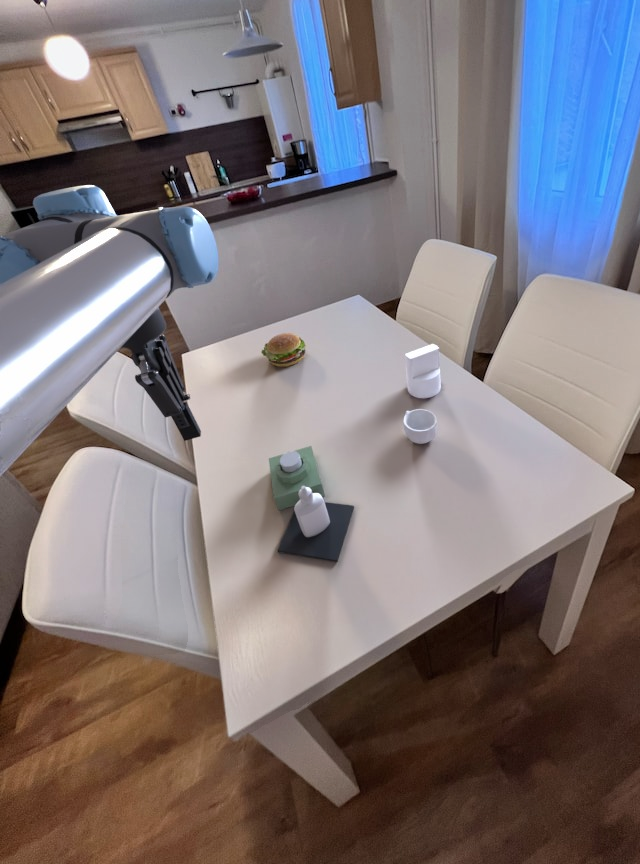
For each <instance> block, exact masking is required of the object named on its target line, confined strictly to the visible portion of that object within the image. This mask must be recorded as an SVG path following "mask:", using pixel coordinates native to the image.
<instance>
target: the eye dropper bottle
mask: <svg viewBox="0 0 640 864" xmlns="http://www.w3.org/2000/svg"><path fill="white" fill-rule="evenodd" d="M298 495H299V498H300V500H299V501H298V502H297V504H296V505H295V506H293V512H294V511H295V514H296V517H297V519H298V522H299V525H300V527H301V530H302V532H303V534H304V535H305V536H306V537H312V536H315V535H317V534H319V533H321V532H322V531H324V530H325V529H326V528H327V527H328V525H329V524H330V519H329V516H328V512H327V509H326V506H325V502H326V501H325V500H324V498H323V497H322V496H321V495H320V494H319V493H312V490H311V489H310V488H309V487H305V486H302V487H301V489H300V491H299V493H298Z"/></svg>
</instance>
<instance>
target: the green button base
mask: <svg viewBox="0 0 640 864" xmlns="http://www.w3.org/2000/svg"><path fill="white" fill-rule="evenodd" d="M293 451H294V452H297V453H299V455H300V457H301V461H302V466H301V468H300V469H299V470H297V471H296V472H293V473H286V472H284V471H283V470H282V467H281V464H280V458H281V457H282V455H284V454H285V453H282V454H278V455H276V456H273V457H269V458H268V464H269V471H270V478H271V479H270V480H271V487H272V494H273V500H274V502H275V505H276V507H277V509H278V511H283V510H286V509H288V508H292V507H295V505H296V504H297V502H298V501H299V500H300V498H299V495H298V493H299V491H300V489H301V487H302V486H305V487H309V488H310V489H311V490H312V493H319V494H320V495H321V496H322V498H323V497H325V496H326V494H325V490H324V486H323V484H322V478H321V475H320V472H319V468H318V465H317V461H316V457H315V453H314V450H313V447H312V445H308V446H305V447H302V448H299V449H296V450H293Z"/></svg>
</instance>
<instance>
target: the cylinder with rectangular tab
mask: <svg viewBox="0 0 640 864" xmlns="http://www.w3.org/2000/svg"><path fill="white" fill-rule="evenodd" d="M404 356H405V357H404V358H405V359H404V360H405V370H406V371H405V372H406V373H405V374H406V385H407V386H406V387H407V391H408V394H409V395H411V396H412V397H414V398H418V399H428V398H433V397H434V396H436V395H438V394H439V393H440V391H441V389H442V388H441V387H442V386H441V368H440V367H441V365H440V364H441V363H440V362H441V361H440V347H439V346H438V345H436V344H435V343H430V344H428V345H426V346H423V347H420V348H417V349H414V350H412V351H409V352H406V353H405V354H404Z"/></svg>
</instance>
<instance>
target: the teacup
mask: <svg viewBox="0 0 640 864" xmlns="http://www.w3.org/2000/svg"><path fill="white" fill-rule="evenodd" d="M402 423H403V430H404V434H405V436H406V437H407V439H408V440H409V441H411V442H412V443H415V444H417V445H422V444H424V445H425V444H427V443H429V442H431V441H432V440H433V439H434V438H435V436H436V433H437V428H438V419H437V416H436V415H435V414H434V413H433V412H432V411H430V410H428V409H423V408H417V409H413V410H406V411H405V415H404V417H403V422H402Z"/></svg>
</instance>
